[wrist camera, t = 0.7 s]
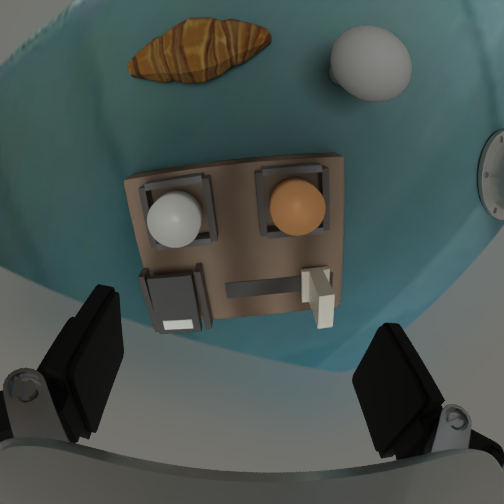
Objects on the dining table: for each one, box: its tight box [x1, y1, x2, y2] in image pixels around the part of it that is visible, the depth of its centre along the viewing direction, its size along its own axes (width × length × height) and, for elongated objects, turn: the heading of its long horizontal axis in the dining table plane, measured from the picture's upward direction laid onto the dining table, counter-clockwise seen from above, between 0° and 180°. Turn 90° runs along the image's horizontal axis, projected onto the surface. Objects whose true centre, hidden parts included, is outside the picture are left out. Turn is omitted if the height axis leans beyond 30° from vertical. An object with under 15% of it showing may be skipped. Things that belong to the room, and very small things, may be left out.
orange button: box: [269, 178, 326, 236], centre depth 25 cm, size 4×4×2 cm
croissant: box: [128, 18, 271, 83], centre depth 22 cm, size 14×7×5 cm, turn 101°
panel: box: [124, 153, 344, 332], centre depth 30 cm, size 20×16×5 cm
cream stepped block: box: [301, 266, 335, 329], centre depth 28 cm, size 3×4×5 cm
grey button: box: [147, 190, 203, 248], centre depth 25 cm, size 4×4×2 cm
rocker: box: [147, 272, 202, 334], centre depth 29 cm, size 4×6×1 cm
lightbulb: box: [329, 25, 412, 102], centre depth 20 cm, size 6×6×11 cm
